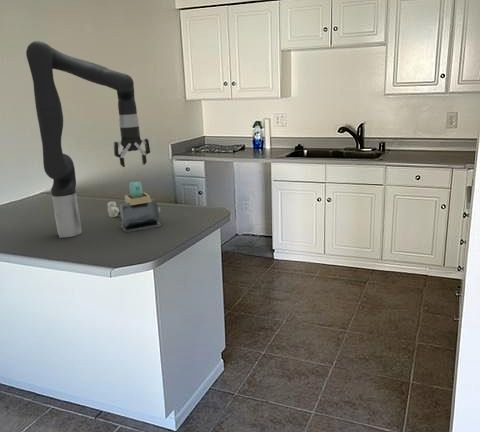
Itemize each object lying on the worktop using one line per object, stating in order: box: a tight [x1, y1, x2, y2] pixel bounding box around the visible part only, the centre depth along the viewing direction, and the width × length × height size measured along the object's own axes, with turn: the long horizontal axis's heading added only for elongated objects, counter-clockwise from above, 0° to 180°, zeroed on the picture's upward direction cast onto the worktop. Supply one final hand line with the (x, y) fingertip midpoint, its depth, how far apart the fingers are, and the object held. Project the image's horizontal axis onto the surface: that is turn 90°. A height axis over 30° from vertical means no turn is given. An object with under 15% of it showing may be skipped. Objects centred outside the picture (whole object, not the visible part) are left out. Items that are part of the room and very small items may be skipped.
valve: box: [106, 201, 121, 219], centre depth 218 cm, size 7×7×12 cm
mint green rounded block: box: [128, 181, 144, 199], centre depth 197 cm, size 7×5×7 cm
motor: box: [119, 191, 162, 233], centre depth 201 cm, size 16×10×14 cm, turn 116°
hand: (133, 165), depth 195 cm, fingers open, 8 cm apart
